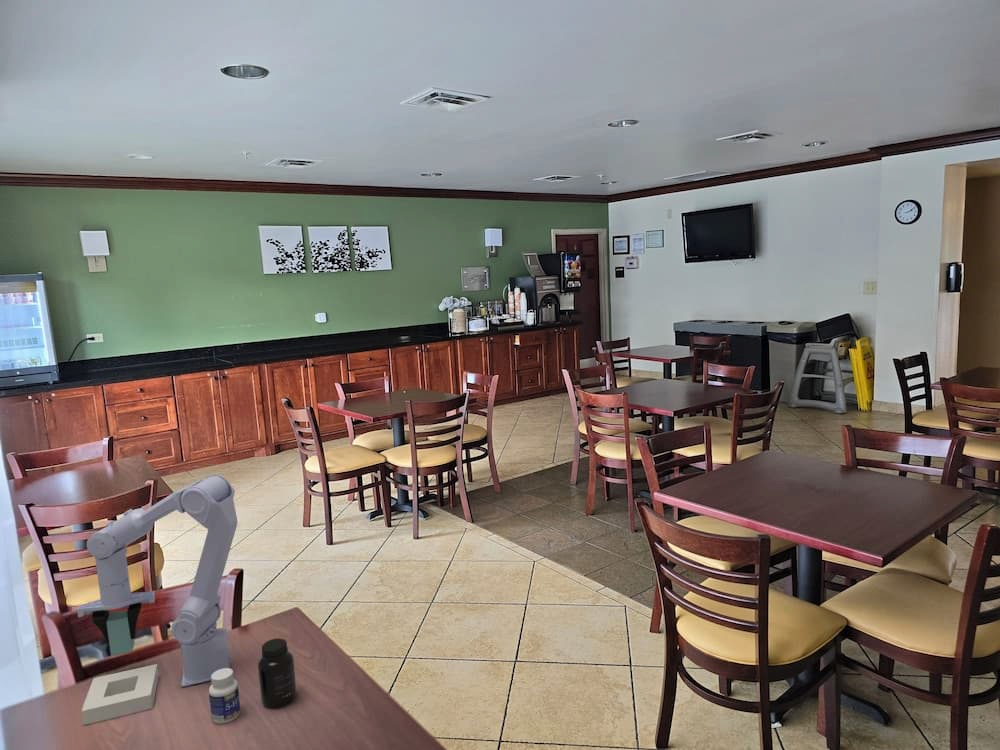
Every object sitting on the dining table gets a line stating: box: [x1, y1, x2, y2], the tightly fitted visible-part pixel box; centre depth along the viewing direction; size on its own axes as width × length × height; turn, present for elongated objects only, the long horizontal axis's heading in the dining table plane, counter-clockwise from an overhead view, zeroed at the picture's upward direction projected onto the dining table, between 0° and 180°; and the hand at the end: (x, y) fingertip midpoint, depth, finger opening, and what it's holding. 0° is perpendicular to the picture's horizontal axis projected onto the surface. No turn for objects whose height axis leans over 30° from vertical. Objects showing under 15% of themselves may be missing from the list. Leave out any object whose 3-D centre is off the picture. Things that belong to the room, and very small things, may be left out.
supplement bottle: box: [257, 637, 297, 710], centre depth 133 cm, size 7×7×12 cm
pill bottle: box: [208, 667, 241, 725], centre depth 129 cm, size 5×5×9 cm
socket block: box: [80, 663, 160, 726], centre depth 136 cm, size 12×12×3 cm
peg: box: [107, 609, 135, 657], centre depth 144 cm, size 4×4×8 cm
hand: (121, 639), depth 144 cm, fingers closed on peg, 4 cm apart
